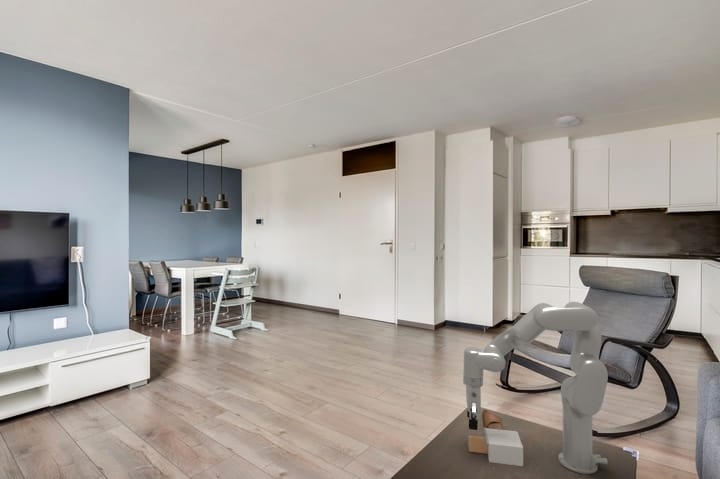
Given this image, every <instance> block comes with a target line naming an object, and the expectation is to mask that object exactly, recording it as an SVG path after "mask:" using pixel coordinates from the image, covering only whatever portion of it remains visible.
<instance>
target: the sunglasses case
mask: <svg viewBox="0 0 720 479" xmlns="http://www.w3.org/2000/svg"><path fill="white" fill-rule="evenodd" d="M482 422H483V429H484V428H489V429H498V430H504V429H503V423H502V418H501V416H499V415H497V414H495V413H492V412H491V411H489V410H487V409H483V410H482Z"/></svg>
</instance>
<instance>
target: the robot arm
mask: <svg viewBox="0 0 720 479" xmlns="http://www.w3.org/2000/svg"><path fill="white" fill-rule="evenodd" d="M545 331H550V332H551V331H554V332H574V337H573V344H572V349H571V353H570V357H569V368H570V370H571V371H572V372H573V373H574V374H575V375H576V376H570V377H567V378H565V379H564V380H563V381H562V383H561V387H560V396H561V406H562V452H559V454H558V457H557V458H558V462H559V463H560V464H561V466H563V467H564V468H566V469H568V470H570V471H572V472H576V473H579V474H584V475H585V474H586V475H589V474H595V473H596V472H597V471H598V464H602V465H608V463H609V461H608V458H607V457H602V456H601V454H594V453H593V416H595V415H597V414H598V413H599V412H600V410H601V409H602V406H603V403H604V398H605V394H606V390H607V385H608V381H609V380H608V378H609V375H608V370H607V367H606V365H605V364H604V363H603V362H602V361H601V360H600V359H599V358H600V351H601V345H602V330H601V327H600V325H599V315H598V313H597V312H596V310H594V309H593V308H591V307H590V306H588V305H585V304H584V303H581V302H578V301H569V302H568V303H566V304H565V305H564V306H563V307H562V306H561V307H560V306H559V307H557V306H554V305H553V306H552V305H551V304H548V303H544V302H540V303H538V304H536V305H535V306H533V307H532V308H531V309H530V310H529V311H527V313H526V314H524V315H523V316H522V317H521V318H519V320H518V321H517V322H516V323H515V324H513V326H511V327H509V328H507V329H506V330H505V331H503V332H501V333H500V334H498V335H497V336H496V337H494V339H492V341H491V342H489V343H488V345H486V346H485V347H484V348H483V350H482V349H481V348H477V347H467V348H465V349H464V352H463V375H462V376H463V378H462V379H463V381H462V382H463V385H465V388H466V389H465V395H466V396H465V397H466V398H465V399H466V407H467V409H466V410H467V412H466V415H467V416H466V417H467V418H468V430H472V431H473V430H474V431H477V430H478V425H479V424H478V423H479V422H478V421H479V420H478V414H481V413H482V406H481V405H482V404H481V402H482V401H481V400H482V397H481V396H482V395H481V394H482V391H481V388H482V387H483V386H484V370H485V371H488V372H492V373H500V372H502V371H503V370H505V367H506V359H505V356H506V355H507V354H508V353H509V352H510V351H513V350H514V349H515V348H517V347H520V346H521V347H523V346H528V345H531V343H533V342H534V341H535V340H536V339H537V338H538V337H539V336H541V334H543V332H545Z"/></svg>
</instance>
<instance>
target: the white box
mask: <svg viewBox="0 0 720 479" xmlns="http://www.w3.org/2000/svg"><path fill="white" fill-rule="evenodd" d="M483 433H484V437H485V439H486V444H487V445H488V454H487V459H488V462H489V463H493V464H500V465H509V466H510V465H511V466H518V467H524V445H523V443H522V441H521V438H520V436H519V433H518V431H515V430H506V429H503V430H498V429H489V428H484V427H483Z"/></svg>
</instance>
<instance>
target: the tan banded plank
mask: <svg viewBox="0 0 720 479" xmlns="http://www.w3.org/2000/svg"><path fill="white" fill-rule="evenodd" d="M468 452H471V453H479V454H486V455H488V445H487V444H486V439H485V436H482V435H481V436H480V435H470V434H469V435H468Z"/></svg>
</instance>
